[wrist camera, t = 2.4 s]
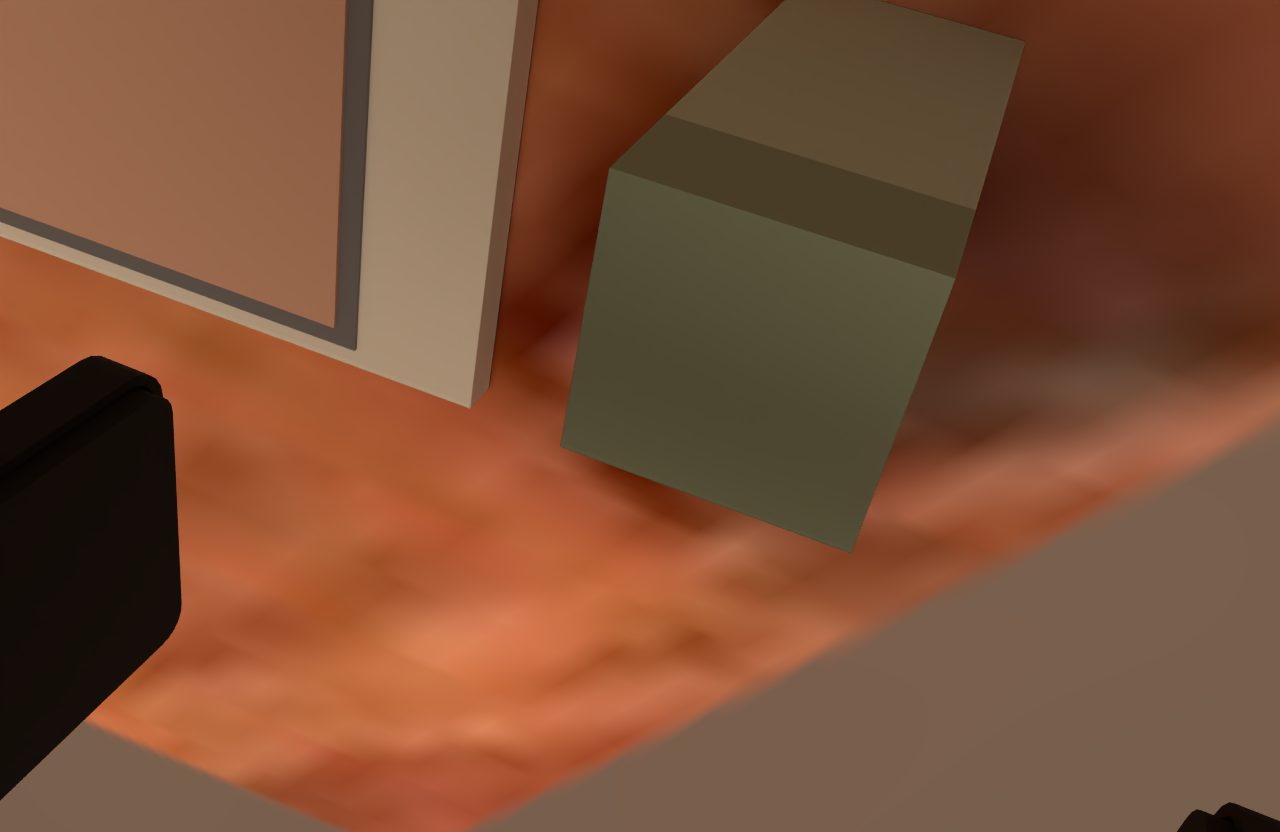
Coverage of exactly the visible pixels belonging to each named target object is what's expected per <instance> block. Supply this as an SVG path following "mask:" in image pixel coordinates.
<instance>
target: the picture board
mask: <svg viewBox="0 0 1280 832" xmlns="http://www.w3.org/2000/svg"><path fill="white" fill-rule="evenodd" d="M537 7H538V0H0V236H1V237H4V238H7V239H9V240H12V241H15V242H18V243H20V244H23V245H26V246H28V247H31V248H34V249H37V250H39V251H42V252H45V253H47V254H50V255H53V256H56V257H58V258H61V259H64V260H67V261H69V262H72V263H75V264H77V265H80V266H83V267H86V268H88V269H91V270H94V271H97V272H99V273H102V274H105V275H107V276H110V277H113V278H116V279H118V280H121V281H124V282H127V283H129V284H132V285H135V286H137V287H140V288H143V289H146V290H148V291H151V292H154V293H156V294H159V295H162V296H165V297H167V298H170V299H173V300H176V301H178V302H181V303H184V304H186V305H189V306H192V307H195V308H197V309H200V310H203V311H206V312H208V313H211V314H214V315H216V316H219V317H222V318H225V319H227V320H230V321H233V322H236V323H238V324H241V325H244V326H246V327H249V328H252V329H255V330H257V331H260V332H263V333H265V334H268V335H271V336H274V337H276V338H279V339H282V340H285V341H287V342H290V343H293V344H295V345H298V346H301V347H304V348H306V349H309V350H312V351H315V352H317V353H320V354H323V355H325V356H328V357H331V358H334V359H336V360H339V361H342V362H344V363H347V364H350V365H353V366H355V367H358V368H361V369H364V370H366V371H369V372H372V373H374V374H377V375H380V376H383V377H385V378H388V379H391V380H394V381H396V382H399V383H402V384H404V385H407V386H410V387H413V388H415V389H418V390H421V391H424V392H426V393H429V394H432V395H434V396H437V397H440V398H443V399H445V400H448V401H451V402H453V403H456V404H459V405H462V406H464V407H467V408H471V407H472V406H473V405H474V404H475V403H476V401H477V400H478V399H479V398H480V397H481V396H482V395H483V394H484V393H485V391H486V390H487V389H488V388H489V382H490V374H491V366H492V358H493V351H494V343H495V335H496V327H497V319H498V311H499V304H500V296H501V288H502V280H503V272H504V265H505V257H506V249H507V241H508V233H509V226H510V218H511V210H512V202H513V194H514V187H515V179H516V171H517V163H518V155H519V148H520V140H521V132H522V124H523V116H524V109H525V101H526V93H527V85H528V77H529V70H530V62H531V54H532V46H533V38H534V31H535V23H536V15H537Z"/></svg>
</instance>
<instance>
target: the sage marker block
mask: <svg viewBox="0 0 1280 832" xmlns="http://www.w3.org/2000/svg"><path fill="white" fill-rule="evenodd" d="M1024 45H1025V41H1021V40H1018V39H1014V38H1010V37H1007V36H1003V35H1000V34H996V33H993V32H989V31H986V30H982V29H979V28H975V27H971V26H968V25H964V24H961V23H957V22H954V21H950V20H947V19H943V18H939V17H936V16H932V15H929V14H925V13H922V12H918V11H915V10H911V9H908V8H904V7H900V6H897V5H893V4H890V3H886V2H883V1H879V0H784V1H783V2H782V3H781V4H780V5H779V6H778V7H777V8H776V9H775V10H774V11H773V12H772V13H771V14H770V15H769V16H768V17H767V18H765V19H764V20H763V21H762V22H761V23H760V24H759V25H758V26H757V27H756V28H755V29H754V30H753V31H752V32H751V33H750V34H749V35H748V36H747V37H746V38H745V39H744V40H742V41H741V42H740V43H739V44H738V45H737V46H736V47H735V48H734V49H733V50H732V51H731V52H730V53H729V54H728V55H727V56H726V57H725V58H724V59H723V60H722V61H720V62H719V63H718V64H717V65H716V66H715V67H714V68H713V69H712V70H711V71H710V72H709V73H708V74H707V75H706V76H705V77H704V78H703V79H702V80H701V81H700V82H699V83H697V84H696V85H695V86H694V87H693V88H692V89H691V90H690V91H689V92H688V93H687V94H686V95H685V96H684V97H683V98H682V99H681V100H680V101H679V102H678V103H677V104H675V105H674V106H673V107H672V108H671V109H670V110H669V111H668V112H667V113H666V114H665V115H664V116H663V117H662V118H661V119H660V120H659V121H658V122H657V123H656V124H655V125H654V126H652V127H651V128H650V129H649V130H648V131H647V132H646V133H645V134H644V135H643V136H642V137H641V138H640V139H639V140H638V141H637V142H636V143H635V144H634V145H633V146H632V147H631V148H629V149H628V150H627V151H626V152H625V153H624V154H623V155H622V156H621V157H620V158H619V159H618V160H617V161H616V162H615V163H614V164H613V165H612V166H611V167H610V168H609V173H608V179H607V184H606V190H605V196H604V201H603V207H602V213H601V218H600V224H599V230H598V235H597V241H596V247H595V252H594V258H593V264H592V269H591V275H590V280H589V286H588V292H587V297H586V303H585V309H584V314H583V320H582V326H581V331H580V337H579V343H578V348H577V354H576V360H575V365H574V371H573V377H572V382H571V388H570V394H569V399H568V405H567V411H566V416H565V422H564V428H563V433H562V439H561V445H560V447H563V448H565V449H568V450H571V451H574V452H576V453H579V454H582V455H584V456H587V457H590V458H593V459H595V460H598V461H601V462H603V463H606V464H609V465H612V466H614V467H617V468H620V469H623V470H625V471H628V472H631V473H633V474H636V475H639V476H642V477H644V478H647V479H650V480H652V481H655V482H658V483H661V484H663V485H666V486H669V487H671V488H674V489H677V490H680V491H682V492H685V493H688V494H690V495H693V496H696V497H699V498H701V499H704V500H707V501H710V502H712V503H715V504H718V505H720V506H723V507H726V508H729V509H731V510H734V511H737V512H739V513H742V514H745V515H748V516H750V517H753V518H756V519H758V520H761V521H764V522H767V523H769V524H772V525H775V526H777V527H780V528H783V529H786V530H788V531H791V532H794V533H797V534H799V535H802V536H805V537H807V538H810V539H813V540H816V541H818V542H821V543H824V544H826V545H829V546H832V547H835V548H837V549H840V550H843V551H845V552H848V553H852V550H853V548H854V545H855V542H856V540H857V537H858V534H859V532H860V529H861V526H862V524H863V521H864V519H865V516H866V513H867V511H868V508H869V505H870V503H871V500H872V498H873V495H874V492H875V490H876V487H877V484H878V482H879V479H880V476H881V474H882V471H883V469H884V466H885V463H886V461H887V458H888V455H889V453H890V450H891V448H892V445H893V442H894V440H895V437H896V434H897V432H898V429H899V426H900V424H901V421H902V419H903V416H904V413H905V411H906V408H907V405H908V403H909V400H910V398H911V395H912V392H913V390H914V387H915V384H916V382H917V379H918V377H919V374H920V371H921V369H922V366H923V363H924V361H925V358H926V355H927V353H928V350H929V348H930V345H931V342H932V340H933V337H934V334H935V332H936V329H937V327H938V324H939V321H940V319H941V316H942V313H943V311H944V308H945V305H946V303H947V300H948V298H949V295H950V292H951V290H952V287H953V284H954V282H955V279H956V276H957V273H958V269H959V266H960V262H961V259H962V256H963V252H964V249H965V245H966V242H967V239H968V235H969V232H970V228H971V225H972V222H973V218H974V215H975V211H976V208H977V205H978V201H979V198H980V194H981V191H982V188H983V184H984V181H985V177H986V174H987V171H988V167H989V164H990V161H991V157H992V154H993V150H994V147H995V144H996V140H997V137H998V133H999V130H1000V127H1001V123H1002V120H1003V116H1004V113H1005V110H1006V106H1007V103H1008V99H1009V96H1010V93H1011V89H1012V86H1013V82H1014V79H1015V76H1016V72H1017V69H1018V65H1019V62H1020V59H1021V55H1022V52H1023V49H1024Z"/></svg>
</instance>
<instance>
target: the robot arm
mask: <svg viewBox="0 0 1280 832" xmlns="http://www.w3.org/2000/svg"><path fill="white" fill-rule="evenodd" d="M181 605H182V602H181V580H180V558H179V537H178V515H177V493H176V471H175V449H174V428H173V411H172V406H171V404H170V402H169V401H168V400H167V399H165V398H163V394H162V389H161V385H160V384H159V382H158V381H157V379H156V378H154V377H152V376H150V375H148V374H145V373H143V372H140V371H138V370H135V369H132V368H130V367H127V366H125V365H122V364H120V363H117V362H115V361H112V360H110V359H107V358H105V357H102V356H90V357H88V358H86V359H83V360H81V361H79V362H78V363H76V364H74V365H73V366H71V367H70V368H68V369H66V370H65V371H63V372H61V373H60V374H58V375H57V376H55V377H53V378H52V379H50V380H49V381H47V382H45V383H44V384H42V385H41V386H39V387H37V388H36V389H34V390H33V391H31V392H29V393H28V394H26V395H24V396H23V397H21V398H20V399H18V400H16V401H15V402H13V403H12V404H10V405H8V406H7V407H5V408H4V409H2V410H0V800H1V799H2V798H3V797H4V796H5V795H6V794H7V793H8V792H9V791H11V790H12V789H13V788H14V787H15V786H16V785H17V784H18V783H19V782H20V781H21V780H22V779H23V778H24V777H25V776H26V775H27V774H28V773H29V772H30V771H31V770H32V769H33V768H35V766H37V765H38V764H39V763H40V762H41V761H42V760H43V759H44V758H45V757H46V756H47V755H48V754H49V753H50V752H51V751H52V750H53V749H54V748H55V747H56V746H57V745H58V744H60V743H61V742H62V741H63V740H64V739H65V738H66V737H67V736H68V735H69V734H70V733H71V732H72V731H73V730H74V729H75V728H76V727H77V726H78V725H79V724H80V723H81V722H82V721H83V720H85V719H86V718H87V717H88V716H89V715H90V714H91V713H92V712H93V711H94V710H95V709H96V708H97V707H98V706H99V705H100V704H101V703H102V702H103V701H104V700H105V699H106V698H107V697H108V696H110V695H111V694H112V693H113V692H114V691H115V690H116V689H117V688H118V687H119V686H120V685H121V684H122V683H123V682H124V681H125V680H126V679H127V678H128V677H129V676H130V675H131V674H132V673H133V672H134V671H136V670H137V669H138V668H139V667H140V666H141V665H142V664H143V663H144V662H145V661H146V660H147V659H148V658H149V657H150V656H151V655H152V654H153V653H154V652H155V651H156V650H157V649H158V648H159V647H161V646H162V645H163V644H164V642H165V641H166V640H167V639H168V638H169V636H170V635H171V633H172V632H173V630H174V629H175V626H176V624H177V622H178V620H179V616H180V613H181ZM1177 832H1280V821H1278V820H1275V819H1273V818H1270V817H1268V816H1265V815H1263V814H1260V813H1258V812H1255V811H1252V810H1250V809H1247V808H1245V807H1242V806H1240V805H1237V804H1234V803H1230V802H1229V803H1227V804H1225V805H1223V806H1222V807H1221V808H1220V809H1219V810H1218V811H1217V812H1216V814H1214V815H1212V814H1209V813H1207V812H1204V811H1202V810H1195V811H1193V812H1192V813H1191V814H1190V815H1189V816H1188V817H1187V818H1186V820H1185V821H1184V823H1183V824H1182V825H1181V827H1180V828H1179V829H1178V831H1177Z"/></svg>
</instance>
